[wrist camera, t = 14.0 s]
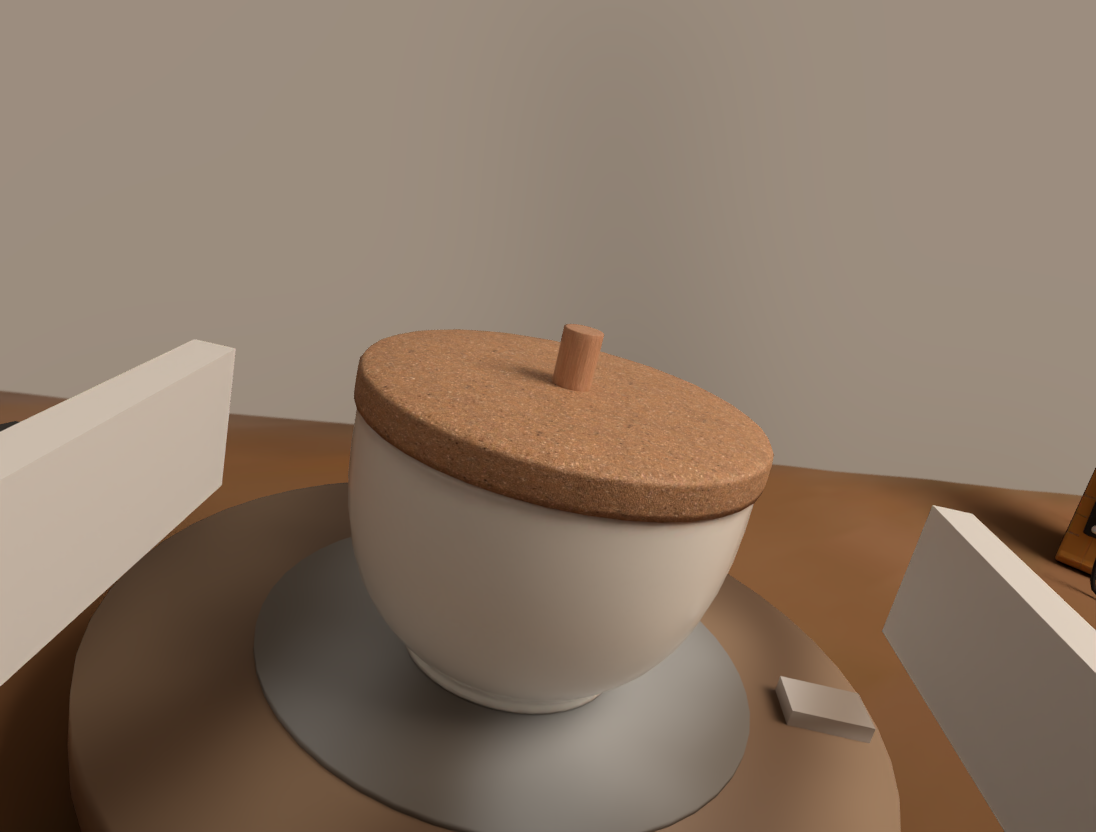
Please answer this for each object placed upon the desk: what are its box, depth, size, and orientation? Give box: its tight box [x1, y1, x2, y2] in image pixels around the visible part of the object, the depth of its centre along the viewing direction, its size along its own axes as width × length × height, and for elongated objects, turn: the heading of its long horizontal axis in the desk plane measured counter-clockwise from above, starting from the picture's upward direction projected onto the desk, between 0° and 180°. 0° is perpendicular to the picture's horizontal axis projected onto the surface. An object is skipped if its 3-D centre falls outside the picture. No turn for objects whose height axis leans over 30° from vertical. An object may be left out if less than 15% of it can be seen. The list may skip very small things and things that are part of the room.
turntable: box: [67, 483, 901, 832], centre depth 24 cm, size 22×22×2 cm
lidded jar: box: [348, 324, 774, 715], centre depth 22 cm, size 11×11×9 cm
